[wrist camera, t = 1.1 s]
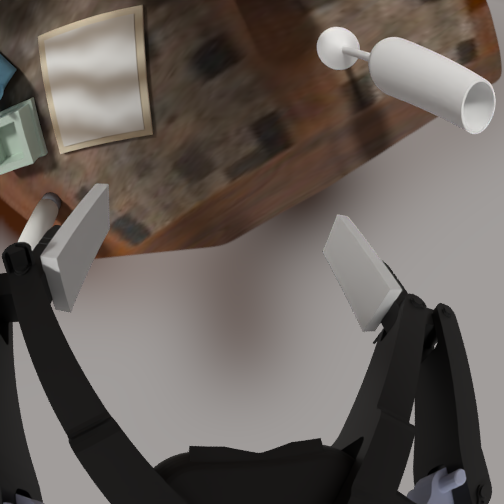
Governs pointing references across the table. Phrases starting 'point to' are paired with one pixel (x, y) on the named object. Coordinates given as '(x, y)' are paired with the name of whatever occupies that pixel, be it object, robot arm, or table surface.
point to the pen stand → (20, 136)
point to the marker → (41, 219)
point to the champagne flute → (416, 77)
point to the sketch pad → (97, 79)
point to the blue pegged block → (5, 73)
